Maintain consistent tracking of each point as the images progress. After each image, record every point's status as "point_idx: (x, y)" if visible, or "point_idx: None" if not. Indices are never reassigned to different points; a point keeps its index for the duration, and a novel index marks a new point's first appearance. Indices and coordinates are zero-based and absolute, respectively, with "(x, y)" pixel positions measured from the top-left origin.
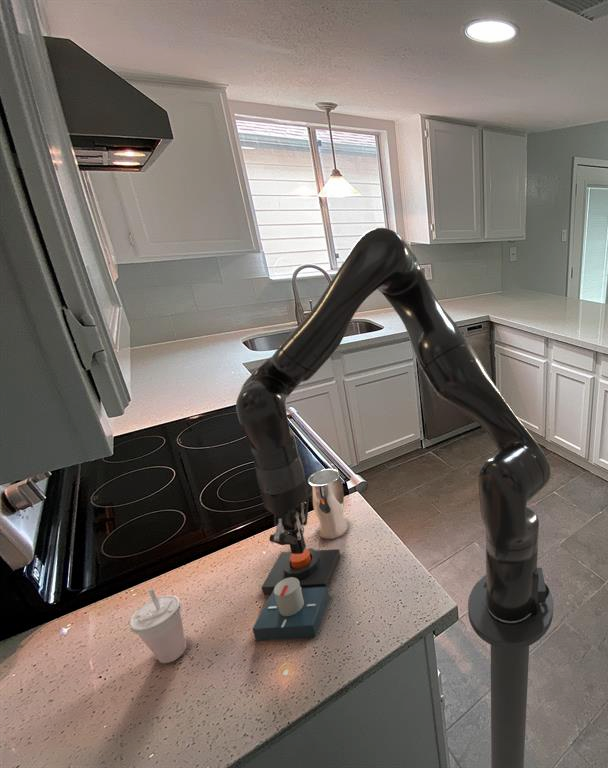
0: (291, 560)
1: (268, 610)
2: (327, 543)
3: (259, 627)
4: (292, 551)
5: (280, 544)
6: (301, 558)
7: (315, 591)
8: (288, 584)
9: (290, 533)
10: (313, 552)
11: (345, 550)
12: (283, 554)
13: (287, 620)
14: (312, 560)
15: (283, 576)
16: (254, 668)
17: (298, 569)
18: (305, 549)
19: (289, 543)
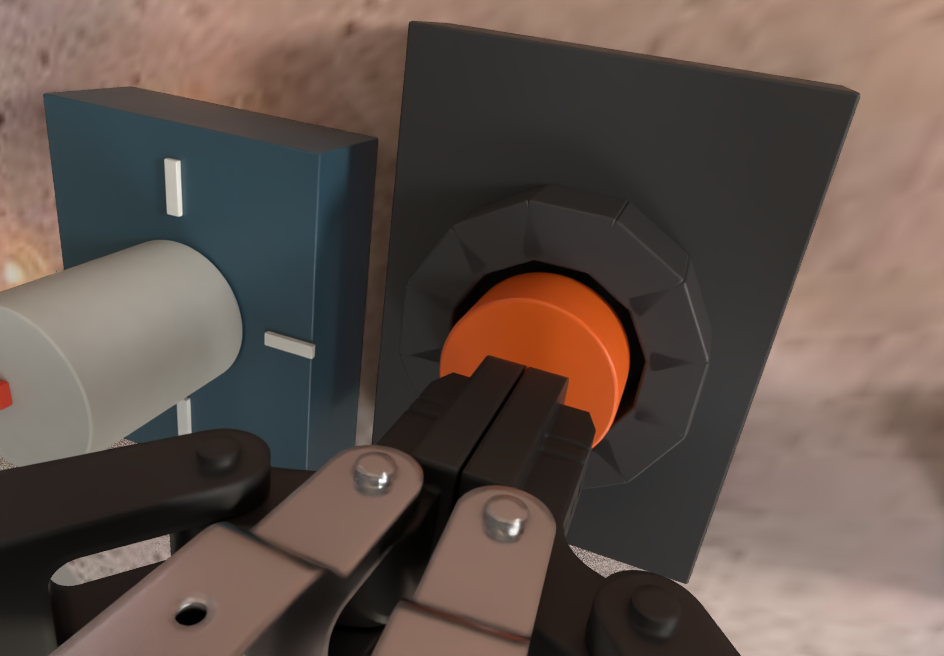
0: (471, 319)
1: (157, 164)
2: (918, 454)
3: (54, 138)
4: (422, 399)
5: (132, 454)
6: None
7: (278, 438)
8: (24, 407)
9: (452, 519)
10: (618, 455)
11: (754, 566)
12: (808, 125)
13: None
14: None
15: (489, 189)
16: (13, 125)
17: (439, 346)
18: (595, 434)
19: (87, 586)
